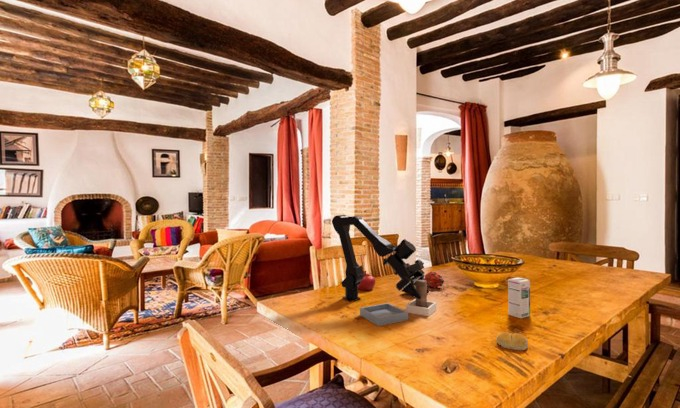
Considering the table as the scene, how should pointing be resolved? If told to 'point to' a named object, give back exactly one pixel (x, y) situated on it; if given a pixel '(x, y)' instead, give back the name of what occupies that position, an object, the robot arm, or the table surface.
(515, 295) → the syrup box
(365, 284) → the pomegranate
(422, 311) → the holder
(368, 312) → the tray
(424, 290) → the pepper mill
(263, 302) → the table surface
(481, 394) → the table surface
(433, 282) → the dragon fruit
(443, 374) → the table surface
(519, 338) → the bread roll
